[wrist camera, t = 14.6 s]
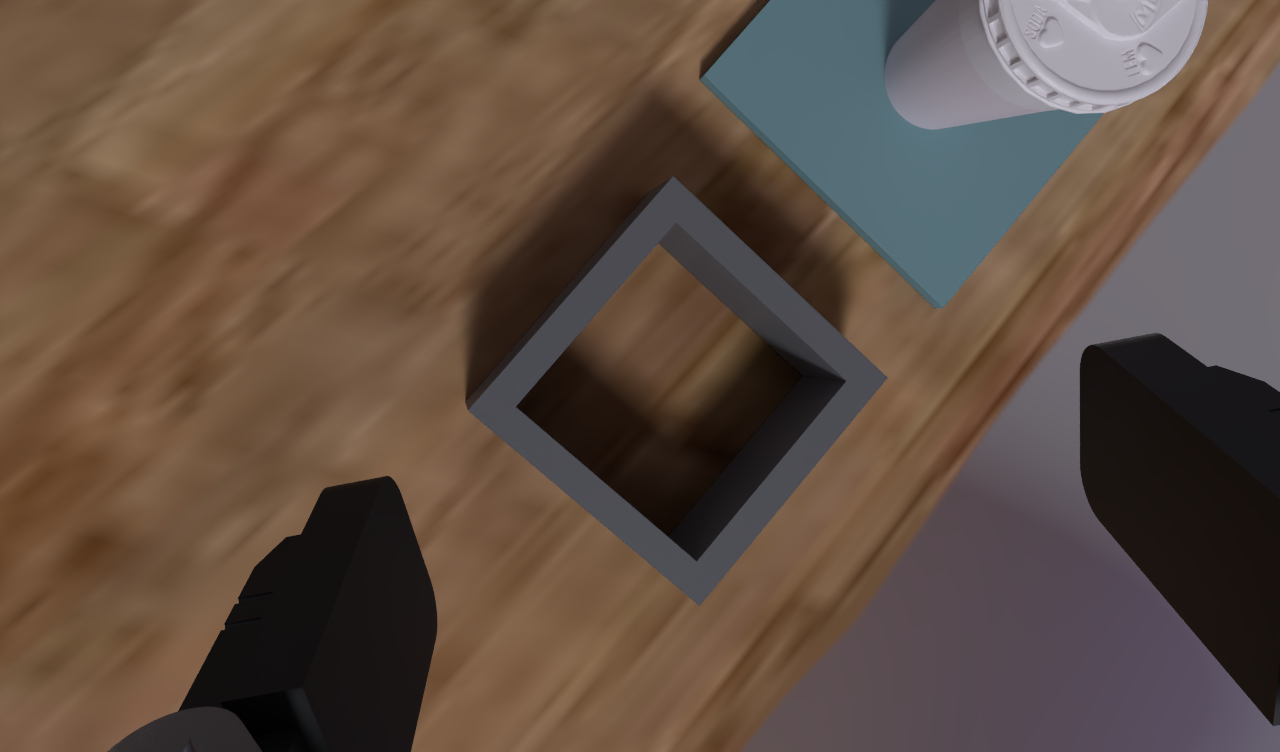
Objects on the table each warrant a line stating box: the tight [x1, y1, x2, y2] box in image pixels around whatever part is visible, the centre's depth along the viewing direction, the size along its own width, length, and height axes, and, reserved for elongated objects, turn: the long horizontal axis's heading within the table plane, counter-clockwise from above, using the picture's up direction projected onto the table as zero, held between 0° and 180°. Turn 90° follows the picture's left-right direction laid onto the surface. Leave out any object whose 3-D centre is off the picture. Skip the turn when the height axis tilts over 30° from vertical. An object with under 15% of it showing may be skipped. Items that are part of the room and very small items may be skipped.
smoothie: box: [884, 0, 1208, 130], centre depth 29 cm, size 6×6×14 cm
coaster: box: [700, 0, 1104, 308], centre depth 36 cm, size 12×12×1 cm
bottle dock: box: [465, 176, 887, 606], centre depth 33 cm, size 10×10×4 cm
